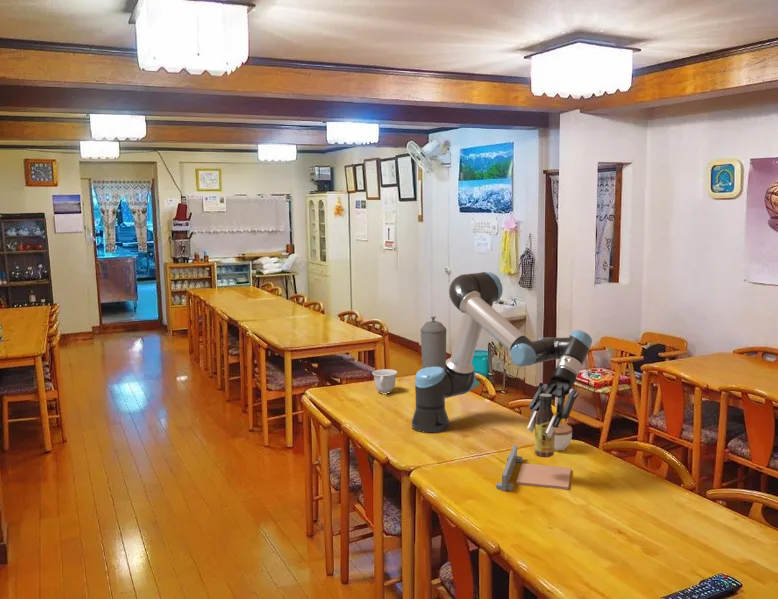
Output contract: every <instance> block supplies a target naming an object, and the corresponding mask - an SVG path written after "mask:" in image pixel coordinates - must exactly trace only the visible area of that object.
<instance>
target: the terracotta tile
mask: <svg viewBox="0 0 778 599" xmlns="http://www.w3.org/2000/svg"><path fill="white" fill-rule="evenodd" d="M518 472H519V473H518V475H517V478H516V481H515V485H518V486H519V485H520V486H528V487H529V486H530V487H531V486H532V487H538V488H539V487H540V488H548V489H558V490H569V488H570V479H571V472H572V468H571V467H564V466H563V467H562V466H553V465H552V466H551V465H543V464H533V463H531V464H530V463H523V462H522V463H521V466H520V469H519V471H518Z"/></svg>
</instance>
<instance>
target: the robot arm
mask: <svg viewBox="0 0 778 599" xmlns="http://www.w3.org/2000/svg"><path fill="white" fill-rule="evenodd" d="M503 290H504V288H503V284H502V283H501V280H500V277H499V276H498V275H497V274H495V273H493V272H491V271H488V272H487V271H481V272H475V273H466V274H465V273H464V274H463V273H462V274H460V275H459V276H455V278H454V279H453V280H452V281H451V283H450V285H449V289H448V291H449V292H448V293H449V294H448V295H449V299H450V301H451V302H452V304H453V306H454V307H455V308H456V309H457V310H459V311H460V312H461V313H462V316H461V320H460V323H459V327H458V331H457V333H456V338H455V341H454V344H453V349H452V352H451V355H450V357H449V358H446V363H445V366H444V369H443V368H441V367H427V368H423V369H422V368H421V369H419V370H417V372H416V374H415V381H414V387H415V388H414V390H415V410H414V412H413V417H412V419H411V428H412V427H413V428H414V429H416V430H420V431H424V432H423V433H428V432H433V433H441V432H445V431H447V430H449V429H450V418H449V416H448V413H447V410H446V405H445V404H446V399H449V398H452V397H456V396H460V395H461V396H462V395H464V394H466V393H469V392H471V391H472V390H473V388H474V387H475V386H476V382H477V376H476V371H475V370H474V369H475V368H474V367H475V366H474V365H473V364H472V363H473V360H474V354H475V353H476V349H477V346H478V342H479V339H480V336H481V332H482V329H484V330H485V331H486V332H488V334H489V335H491V336H492V337H493V338H494V339H495V340H496V341H498V342H499V343H500V344H501V345H502V346H503V347H504V348H505V349H506V350H508V351H509V354H510V359H511V360H512V363H513V364H514V365H516V366H518V367H528V366H529V367H530V366H532V365H535V364H540V363H545V362H548V361H551V360H552V361H553V360H558V362H557V363H556V366H555V368H554V370H553V371H552V374H551V376H550V377H551V378H550V380H549V382H547V383H542V382H540V383H538V384H539V385H538V389H537V391H536V392H535V394H534V396H533V398H532V400H531V401H530V403H529V405H528V408H529V409H530V411H531V414H530V416H529V418H528V419H529V420H528V421H529V423H528V425H527V427H526V429H527V431H529V432H530V433H533V432H534V431H535V422H536V413H537V412H538V410H539V409H540V407H539V406H540V399H539V395H540V394H551V395H552V400H554V398H557V402H556V403H557V404H556V412H554V413H555V414H553V417H552V419H551V421H550V424H549V426H548V428H547V430H546V434H547V435H548V437H551V436H552V434H553V431H554V429H555V428H557V427H558V426H559V423H561V420H563V419H565V420H568V419H569V417H570V414H571V412H572V409H573V406H574V403H575V401H576V398H578V396H579V392H578V391H577V390H576V388H574V389H573V387H574V385H575V382H576V380H577V377H578V375H579V374H580V371H581V369H582V367H583V364H584V362H585V360H586V357H587V355H588V353H590V352H589V351H590V350H591V346H592V343H593V339H592V337H591V335H590V334H589V333H587V332H585V331H583V330H579V329H576V330H574V331H572V332H571V333H570V335H569V337H565V336H564V337H550V336H547V337H546V336H545V337H540V338H538V339H537V340H533V341H532V340H531V338H528V337H527V336H526V335H525V334H524V333H522V332H521V331H520V330H519V329H517V327H516V326H514V325H513V324H512V323H511V322H509V320H507V319H506V318H505V317H504V316H503V315H502V314H501V313H499V312H498V311H497V310H496V309H495V308H494V307H493V305H494V302H497V301H498V300H500V298H501V297H502V296H503ZM567 395H568V396H567ZM566 396H567V398H566ZM413 428H412V429H413ZM414 429H413V430H414ZM416 430H415V431H416ZM420 431H419V432H420ZM440 431H441V432H440Z"/></svg>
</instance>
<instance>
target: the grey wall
mask: <svg viewBox="0 0 778 599" xmlns="http://www.w3.org/2000/svg"><path fill="white" fill-rule="evenodd" d="M521 462H522V463H523V456H519V455H518V444H513V446H512V448H511V451H510V453H509V455H507V457H506V464H505V467H504V469H503V472H502V475H501V482H497V483H496V486H495V488H497V489H496V490H501V489H502V490H501V491H502V492H506V491H510V490H511V491H513V490H514V483H509V482H510V481H511V477H512V474H513V472H514V470H515V469H514V468H515V466H516V464H517V463H521ZM515 463H516V464H515ZM509 480H510V481H509Z"/></svg>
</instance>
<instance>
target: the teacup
mask: <svg viewBox="0 0 778 599" xmlns="http://www.w3.org/2000/svg"><path fill="white" fill-rule="evenodd" d="M371 374H372V375H373V380H374V385H375V389H376V390H377V391H380V392H382V393H387V392H391V393H392V390H394V389H395V386H396V377H397V374H398V371H397V370H395V369H391V368H390V369H387V368H386V369H385V368H382V369H376V370H374V371H372V373H371Z"/></svg>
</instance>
